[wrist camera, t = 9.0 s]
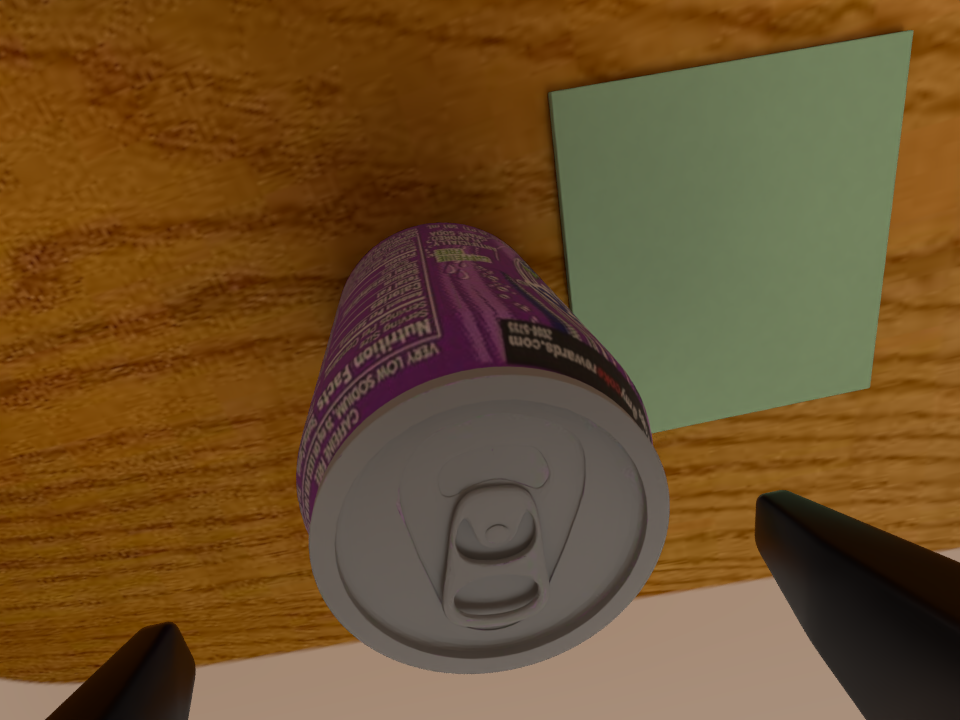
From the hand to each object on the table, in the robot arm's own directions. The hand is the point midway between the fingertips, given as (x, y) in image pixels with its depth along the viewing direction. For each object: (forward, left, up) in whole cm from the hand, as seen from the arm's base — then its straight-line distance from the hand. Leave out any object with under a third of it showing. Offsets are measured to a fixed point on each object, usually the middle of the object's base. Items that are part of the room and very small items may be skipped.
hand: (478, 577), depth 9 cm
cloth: (0, -11, -13) cm, 17 cm away
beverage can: (0, 0, -13) cm, 13 cm away
